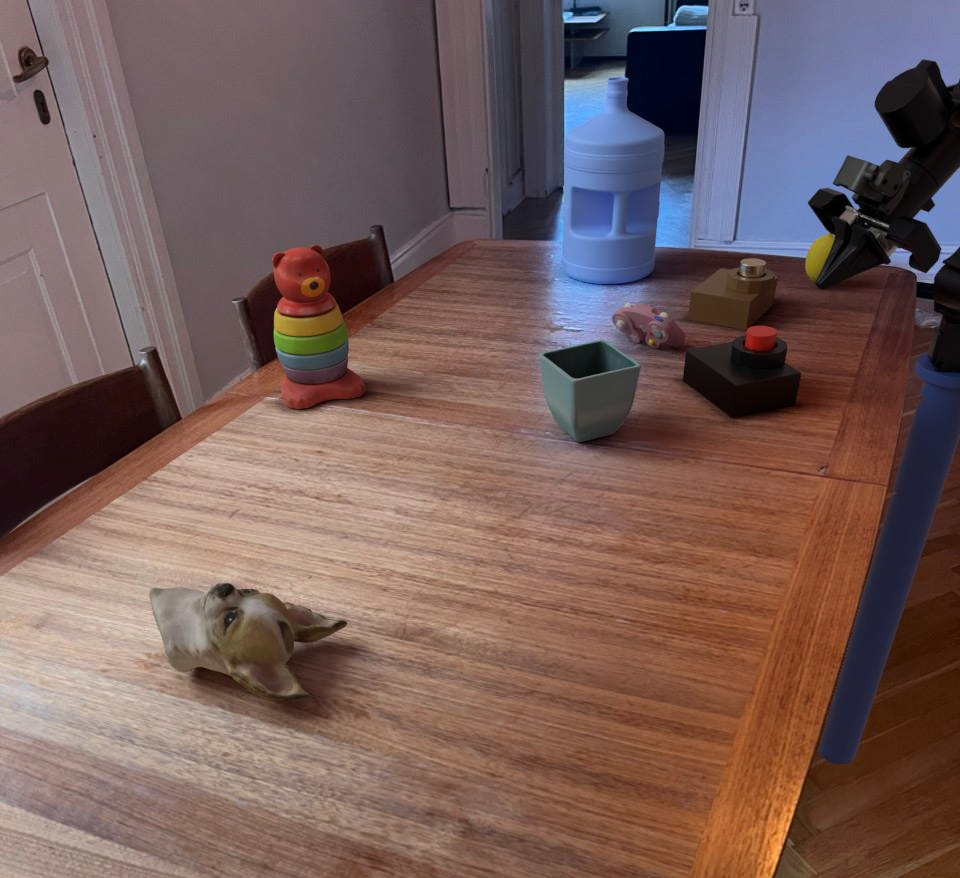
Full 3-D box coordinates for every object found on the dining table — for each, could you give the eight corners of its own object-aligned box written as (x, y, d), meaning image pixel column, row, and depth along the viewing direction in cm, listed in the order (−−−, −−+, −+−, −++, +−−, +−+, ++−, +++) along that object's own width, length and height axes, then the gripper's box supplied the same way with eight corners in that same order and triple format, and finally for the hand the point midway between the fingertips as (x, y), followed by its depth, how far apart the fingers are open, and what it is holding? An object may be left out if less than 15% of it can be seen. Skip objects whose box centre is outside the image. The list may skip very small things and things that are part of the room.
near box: (748, 368, 122) (755, 323, 118) (802, 404, 113) (811, 357, 109) (682, 380, 120) (687, 335, 116) (731, 418, 111) (738, 370, 107)
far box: (779, 305, 140) (786, 265, 136) (752, 331, 132) (759, 289, 128) (717, 295, 144) (722, 256, 140) (687, 320, 136) (692, 278, 133)
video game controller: (614, 348, 133) (603, 310, 127) (632, 325, 134) (622, 288, 128) (672, 364, 127) (663, 327, 122) (690, 341, 128) (682, 303, 123)
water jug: (553, 259, 161) (557, 74, 143) (641, 254, 162) (655, 68, 144) (570, 288, 149) (576, 89, 131) (664, 282, 150) (683, 84, 132)
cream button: (767, 274, 134) (769, 260, 133) (758, 281, 132) (761, 267, 131) (743, 271, 136) (745, 256, 134) (734, 278, 133) (736, 263, 132)
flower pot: (570, 454, 105) (573, 380, 99) (536, 424, 111) (537, 352, 105) (637, 438, 107) (643, 364, 102) (600, 409, 114) (603, 338, 108)
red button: (763, 339, 115) (766, 323, 114) (780, 350, 112) (783, 333, 111) (738, 344, 114) (741, 328, 113) (754, 354, 111) (757, 338, 110)
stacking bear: (289, 412, 116) (264, 267, 105) (270, 383, 123) (244, 245, 112) (370, 395, 119) (354, 253, 108) (346, 368, 126) (329, 232, 115)
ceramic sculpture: (176, 536, 77) (345, 563, 75) (194, 616, 83) (352, 643, 80) (110, 613, 69) (297, 645, 67) (135, 695, 75) (308, 728, 73)
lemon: (808, 278, 149) (818, 226, 144) (842, 284, 146) (853, 231, 141) (795, 288, 145) (805, 235, 140) (830, 294, 143) (841, 240, 138)
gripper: (836, 113, 108) (742, 224, 113) (948, 142, 95) (836, 267, 99) (877, 177, 115) (786, 280, 120) (987, 213, 102) (880, 327, 106)
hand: (818, 287), depth 111 cm, fingers closed
